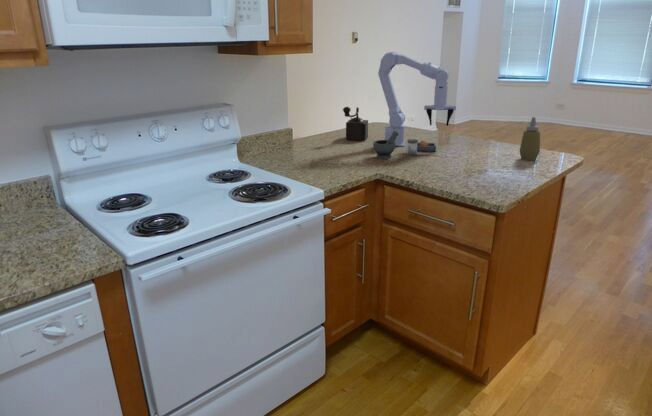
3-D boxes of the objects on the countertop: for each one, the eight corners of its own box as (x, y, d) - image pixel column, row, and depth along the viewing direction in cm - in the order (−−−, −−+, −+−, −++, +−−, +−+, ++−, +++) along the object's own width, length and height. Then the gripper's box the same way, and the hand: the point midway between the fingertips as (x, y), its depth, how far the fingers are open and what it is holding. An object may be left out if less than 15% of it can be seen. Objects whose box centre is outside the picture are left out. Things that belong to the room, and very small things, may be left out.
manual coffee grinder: (348, 136, 254) (348, 103, 248) (368, 137, 252) (368, 103, 245) (342, 142, 240) (341, 107, 234) (363, 143, 238) (363, 107, 231)
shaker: (406, 155, 212) (407, 141, 209) (407, 153, 216) (407, 139, 213) (416, 156, 211) (417, 141, 208) (417, 153, 215) (418, 139, 212)
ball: (419, 147, 224) (420, 138, 223) (428, 147, 223) (428, 139, 222) (419, 149, 221) (419, 140, 219) (427, 149, 220) (428, 141, 218)
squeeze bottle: (540, 161, 197) (546, 119, 190) (520, 161, 198) (525, 118, 192) (536, 157, 204) (542, 115, 198) (516, 156, 206) (521, 115, 199)
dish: (411, 151, 220) (411, 146, 219) (412, 147, 227) (412, 142, 226) (435, 151, 217) (435, 146, 217) (435, 147, 225) (435, 143, 224)
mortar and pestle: (371, 159, 207) (372, 132, 203) (374, 154, 216) (374, 128, 211) (397, 160, 205) (398, 133, 200) (398, 155, 213) (399, 129, 209)
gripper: (424, 97, 217) (423, 126, 222) (457, 97, 214) (454, 127, 219) (425, 95, 223) (423, 123, 228) (456, 95, 220) (454, 124, 225)
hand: (438, 125), depth 224 cm, fingers open, 7 cm apart
